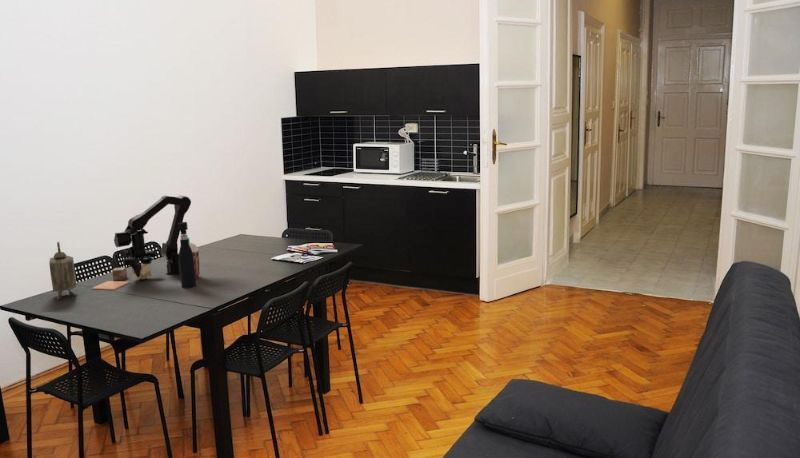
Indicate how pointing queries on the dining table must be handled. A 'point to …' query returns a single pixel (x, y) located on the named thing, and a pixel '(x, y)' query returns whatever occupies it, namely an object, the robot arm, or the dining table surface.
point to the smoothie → (195, 258)
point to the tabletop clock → (62, 272)
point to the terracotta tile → (110, 285)
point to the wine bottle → (186, 259)
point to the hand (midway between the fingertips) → (142, 275)
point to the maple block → (143, 272)
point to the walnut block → (119, 273)
